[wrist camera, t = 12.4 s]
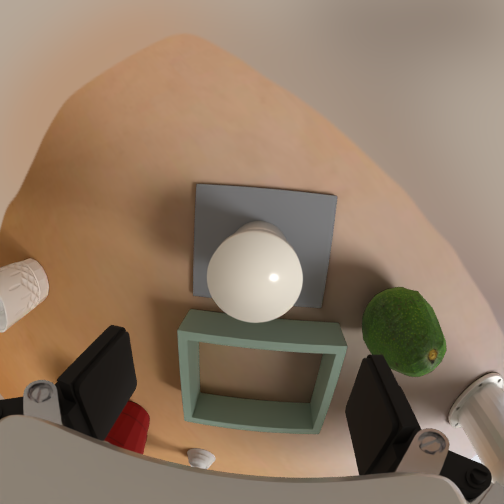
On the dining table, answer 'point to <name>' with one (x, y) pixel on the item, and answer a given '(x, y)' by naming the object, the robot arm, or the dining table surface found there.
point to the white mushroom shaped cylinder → (255, 273)
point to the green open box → (267, 338)
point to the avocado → (404, 331)
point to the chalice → (200, 458)
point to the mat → (272, 211)
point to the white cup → (21, 290)
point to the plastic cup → (130, 429)
